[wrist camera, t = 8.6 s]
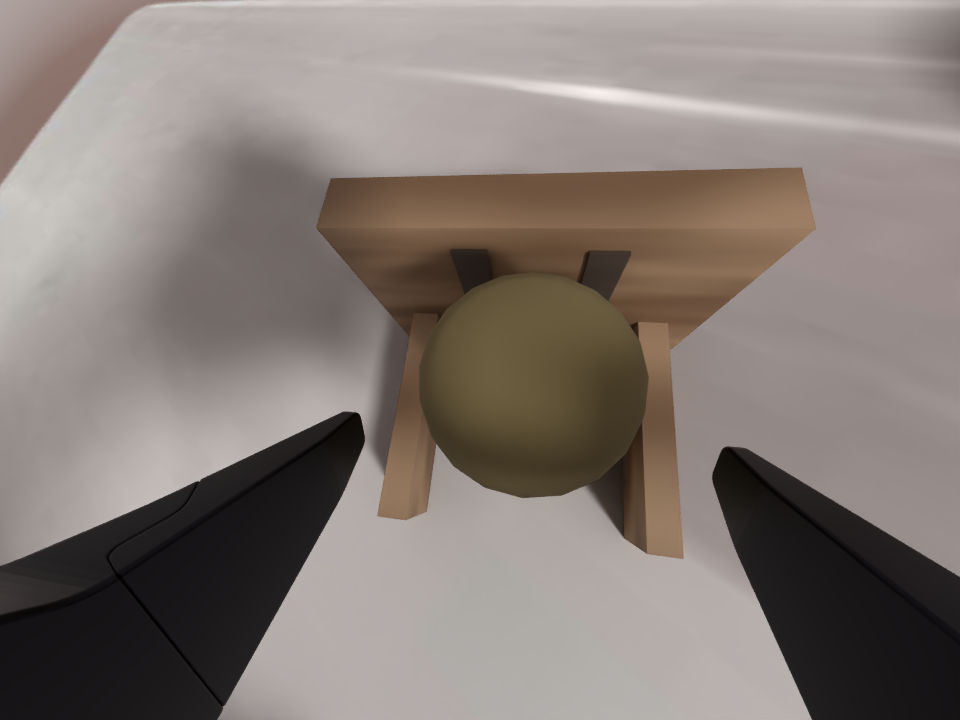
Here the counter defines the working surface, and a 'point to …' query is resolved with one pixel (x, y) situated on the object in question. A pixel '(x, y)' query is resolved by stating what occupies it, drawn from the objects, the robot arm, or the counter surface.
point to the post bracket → (580, 257)
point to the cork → (533, 384)
